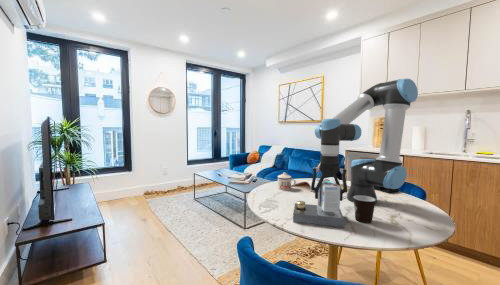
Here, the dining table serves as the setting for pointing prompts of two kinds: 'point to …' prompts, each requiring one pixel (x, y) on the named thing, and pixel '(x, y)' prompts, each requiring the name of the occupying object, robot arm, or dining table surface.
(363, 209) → the coffee mug
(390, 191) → the battery charger
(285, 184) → the teacup with lid
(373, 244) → the dining table surface
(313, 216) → the plate
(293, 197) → the dining table surface
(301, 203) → the press pin
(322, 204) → the light bulb box
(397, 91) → the robot arm
